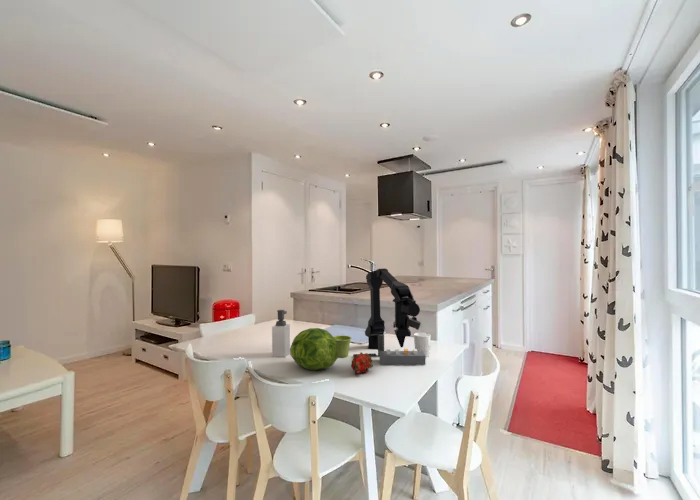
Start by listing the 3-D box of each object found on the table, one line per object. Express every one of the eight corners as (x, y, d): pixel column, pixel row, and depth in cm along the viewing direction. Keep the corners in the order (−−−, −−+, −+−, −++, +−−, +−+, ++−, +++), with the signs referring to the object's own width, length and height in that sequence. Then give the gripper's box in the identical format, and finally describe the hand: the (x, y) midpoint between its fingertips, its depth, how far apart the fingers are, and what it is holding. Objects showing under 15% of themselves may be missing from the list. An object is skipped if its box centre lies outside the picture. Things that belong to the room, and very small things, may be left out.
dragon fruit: (370, 371, 144) (357, 384, 134) (356, 357, 147) (341, 370, 137) (380, 358, 141) (366, 371, 130) (364, 344, 144) (350, 356, 133)
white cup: (431, 358, 156) (430, 336, 156) (414, 357, 157) (413, 336, 157) (430, 353, 163) (430, 332, 163) (414, 352, 165) (414, 332, 165)
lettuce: (307, 338, 163) (282, 322, 150) (347, 335, 151) (323, 318, 139) (298, 376, 152) (271, 362, 140) (340, 376, 140) (314, 361, 128)
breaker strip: (380, 364, 148) (379, 352, 148) (379, 359, 155) (379, 347, 155) (425, 364, 146) (425, 352, 146) (422, 359, 153) (422, 347, 153)
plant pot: (354, 354, 163) (354, 336, 163) (346, 359, 155) (346, 341, 155) (337, 351, 167) (337, 334, 167) (328, 357, 159) (328, 339, 159)
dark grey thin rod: (353, 357, 158) (353, 354, 158) (353, 356, 160) (352, 353, 160) (376, 356, 159) (376, 353, 159) (376, 355, 161) (375, 353, 161)
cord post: (378, 356, 159) (377, 335, 159) (378, 354, 162) (377, 334, 162) (384, 356, 158) (384, 335, 158) (384, 354, 161) (383, 334, 161)
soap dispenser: (291, 351, 168) (291, 308, 168) (284, 357, 160) (284, 311, 160) (279, 351, 170) (279, 308, 170) (272, 356, 161) (271, 311, 161)
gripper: (422, 316, 141) (423, 353, 141) (416, 309, 159) (416, 341, 159) (396, 316, 141) (396, 353, 141) (392, 309, 160) (393, 341, 160)
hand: (401, 347), depth 151 cm, fingers closed
